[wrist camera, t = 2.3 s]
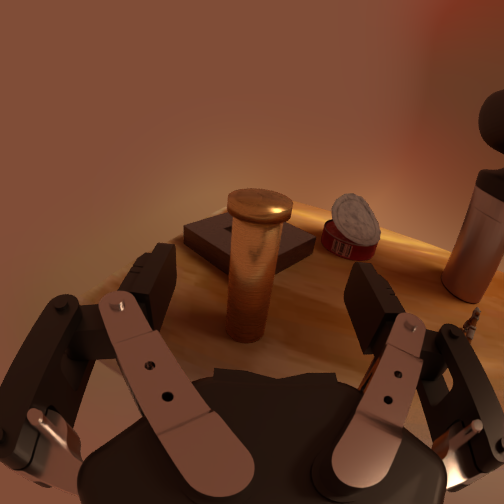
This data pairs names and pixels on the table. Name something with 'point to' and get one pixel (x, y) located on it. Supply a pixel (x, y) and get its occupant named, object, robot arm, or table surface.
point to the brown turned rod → (471, 325)
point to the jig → (219, 242)
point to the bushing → (253, 259)
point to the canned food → (351, 229)
